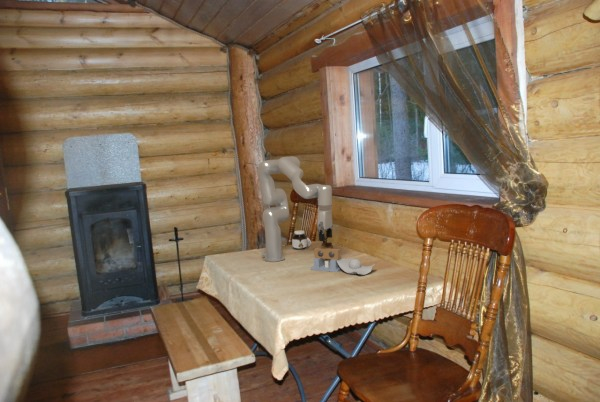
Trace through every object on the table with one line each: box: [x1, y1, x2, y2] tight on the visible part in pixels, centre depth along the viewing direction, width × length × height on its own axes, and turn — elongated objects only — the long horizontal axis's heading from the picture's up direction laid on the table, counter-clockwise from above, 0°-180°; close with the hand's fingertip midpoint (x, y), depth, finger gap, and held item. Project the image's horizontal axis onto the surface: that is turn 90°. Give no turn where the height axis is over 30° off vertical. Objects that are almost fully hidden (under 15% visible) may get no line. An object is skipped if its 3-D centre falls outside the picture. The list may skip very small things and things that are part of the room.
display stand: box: [310, 257, 343, 273], centre depth 259 cm, size 16×10×6 cm, turn 62°
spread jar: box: [291, 230, 312, 251], centre depth 316 cm, size 12×11×12 cm
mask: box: [337, 258, 376, 276], centre depth 251 cm, size 20×8×15 cm
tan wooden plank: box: [313, 247, 342, 260], centre depth 258 cm, size 14×4×5 cm, turn 62°
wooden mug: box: [320, 229, 334, 261], centre depth 276 cm, size 9×14×18 cm, turn 11°
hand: (325, 239), depth 258 cm, fingers open, 9 cm apart
